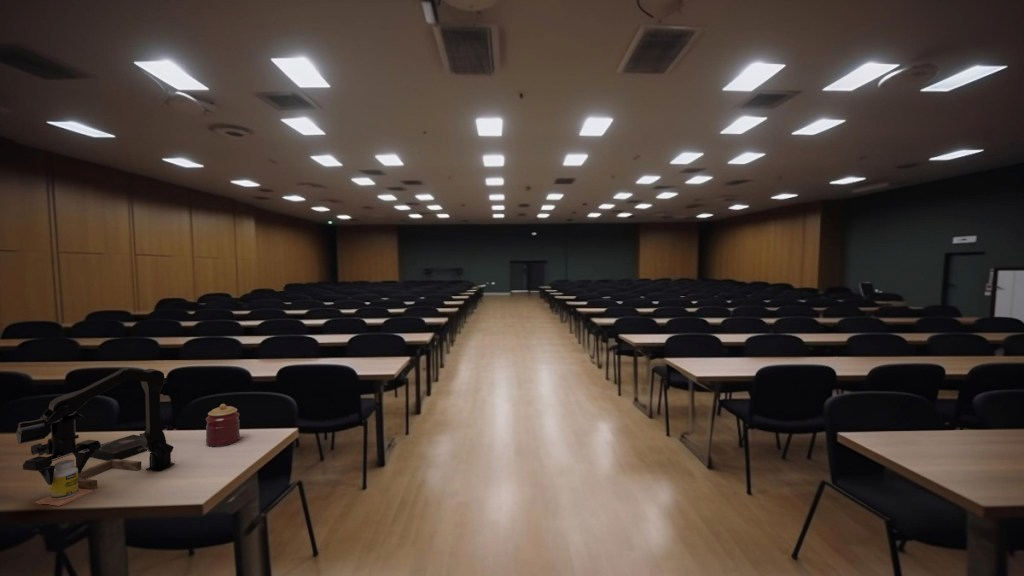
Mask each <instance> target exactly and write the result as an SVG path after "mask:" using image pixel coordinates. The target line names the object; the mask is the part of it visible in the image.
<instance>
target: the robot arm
mask: <svg viewBox="0 0 1024 576" xmlns="http://www.w3.org/2000/svg"><path fill="white" fill-rule="evenodd" d="M127 380H130V381H137V382H138V381H139V382H140V384H141V387H142V389H143V391H144V394H145V395H144V396H145V403H144V404H145V430H144V432H143V433H142V432H141V433H139V436H140V443H139V444H141V445H142V447H144V448H145V449H147V450H148V451H147V452H149V457H148V458H149V461H148V462H149V466H148V467H147V468H145V470H146V471H151V472H152V471H153V472H154V471H155V472H162V471H163V470H165V469H168V468H170V467H172V466H174V465H175V462H172V454H171V453H172V452H173V450H174V445H171V444H169V443H167V440H166V439H167V438H166V436H165V433H164V430H163V429H162V419H161V417H162V414H161V411H162V410H161V391H162V388H163V387H164V381H165V373H164V372H162V371H161V370H157V369H155V368H147V369H144V370H143V369H135V368H127V367H122V368H120V369H119V370H117V371H115V372H113V373H111V374H109V375H108V376H105V377H104V378H102V379H99V380H98V381H96V382H93V383H91V384H90V385H88V386H85V387H84V388H82V389H79V390H77V391H76V390H75V391H72V392H69V393H65V394H64V395H61V396H58V397H56V398H53V399H52V400H51V401H50V402H49V405H48V408H47V409H46V410H45V412H44V413H43V414H42V415H41V416H40V417H39V419H35V420H29V421H21V422H18V427H17V429H16V441H17V444H18V445H22V444H26V443H31V442H35V441H36V442H37V441H39V440H45V439H46V437H49V435H50V434H51V435H50V436H51V438H48V439H47V442H46V443H45V444H42V443H41V442H39V443H35V444H33V445H31V446H30V453H31V455H33V456H34V455H38V456H36V457H33V458H29V459H27V460H25V461H23V464H22V470H24V471H25V470H26V471H33V472H39V474H40V475H41V476H42V478H43V479H44V481H45V482H46V484H47V485H48V486H51V485H52V482H53V477H54V471H55V469H54V468H55V466H54V465H52V464H53V461H57V460H60V459H63V458H66V457H68V456H71V455H73V456H74V457H75V467H77V468H78V474H79V473H81V471H83V470H84V467H85V466H86V464H87V462H88V461H89V460H90V458H91V457H90V456H91V455H92V453H94V452H95V451H94V450H97V449H99V448H101V444H102V443H101V442H100V441H99V440H93V439H87V440H83V441H81V442H77V439H79V438H80V435H79V434H76V433H77V431H76V420H81V419H83V418H84V415H82V414H80V413H79V412H78V410H80V409H81V408H82V407H83V406H84V405H86V404H87V402H89V401H90V400H92V399H93V398H96V397H97V396H99V395H101V394H103V393H105V392H107V391H108V390H110V389H112V388H114V387H116V386H118V385H120V384H122V383H124V382H125V381H127ZM76 442H77V443H76ZM45 454H46V455H48V456H43V455H45Z"/></svg>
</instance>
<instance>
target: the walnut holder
mask: <svg viewBox="0 0 1024 576" xmlns="http://www.w3.org/2000/svg"><path fill="white" fill-rule="evenodd" d="M111 469H114V470H115V469H117V470H127V471H140V470H142V461H141V460H129V459H122V460H120V459H111V460H108V461H106V460H105V461H103V462H101V463H98V464H96V465H94V466H90V467H88V468H86V469H82V471H81V473H79V474H78V488H79V489H88V490H93V491H95V490H97V489H98V480H97V479H89V478H92V477H93V476H96V475H98V474H99V475H100V474H102V473H103V472H106V471H108V470H111ZM91 476H92V477H91ZM88 477H89V478H88ZM86 478H87V479H86Z"/></svg>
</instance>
